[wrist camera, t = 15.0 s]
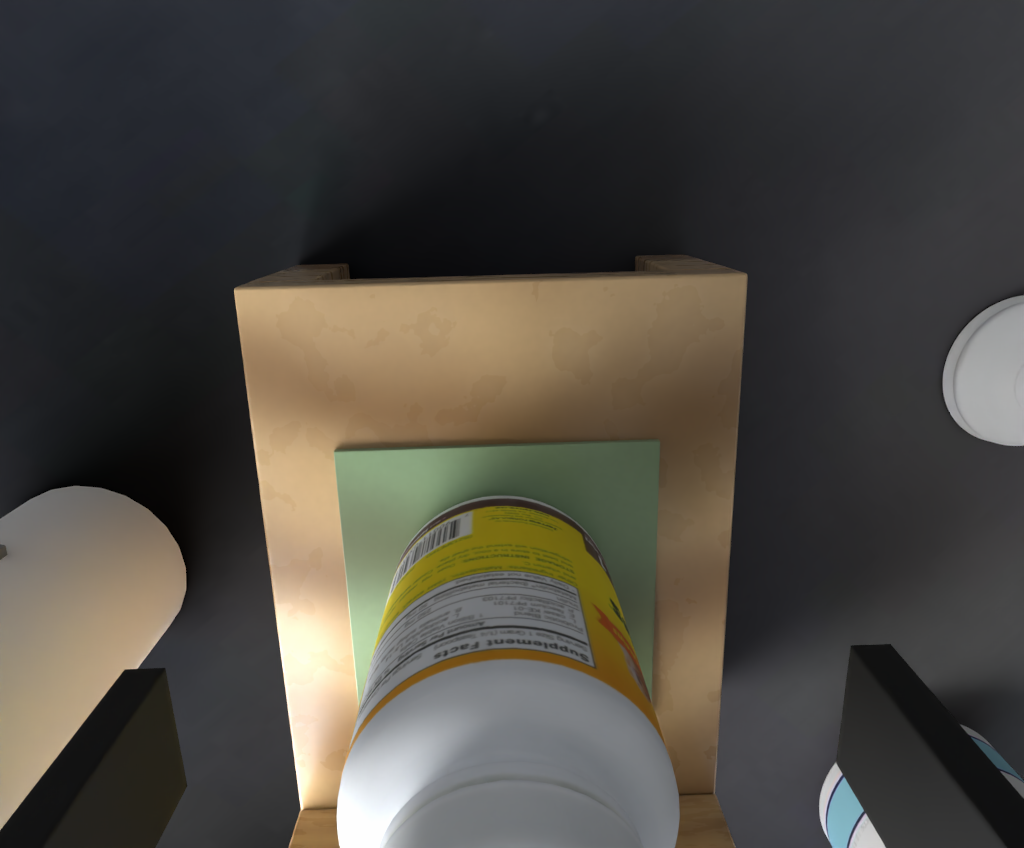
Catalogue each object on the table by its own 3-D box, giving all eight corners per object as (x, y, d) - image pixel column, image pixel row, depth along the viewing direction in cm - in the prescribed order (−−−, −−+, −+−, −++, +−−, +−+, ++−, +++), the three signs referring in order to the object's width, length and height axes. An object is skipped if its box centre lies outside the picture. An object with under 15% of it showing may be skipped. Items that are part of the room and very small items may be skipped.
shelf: (296, 265, 23) (28, 357, 10) (686, 254, 23) (945, 330, 10) (342, 708, 28) (203, 1185, 14) (668, 696, 28) (830, 1155, 15)
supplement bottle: (588, 689, 21) (676, 1135, 11) (384, 665, 20) (281, 1105, 10) (629, 500, 19) (773, 822, 9) (407, 470, 19) (314, 773, 9)
